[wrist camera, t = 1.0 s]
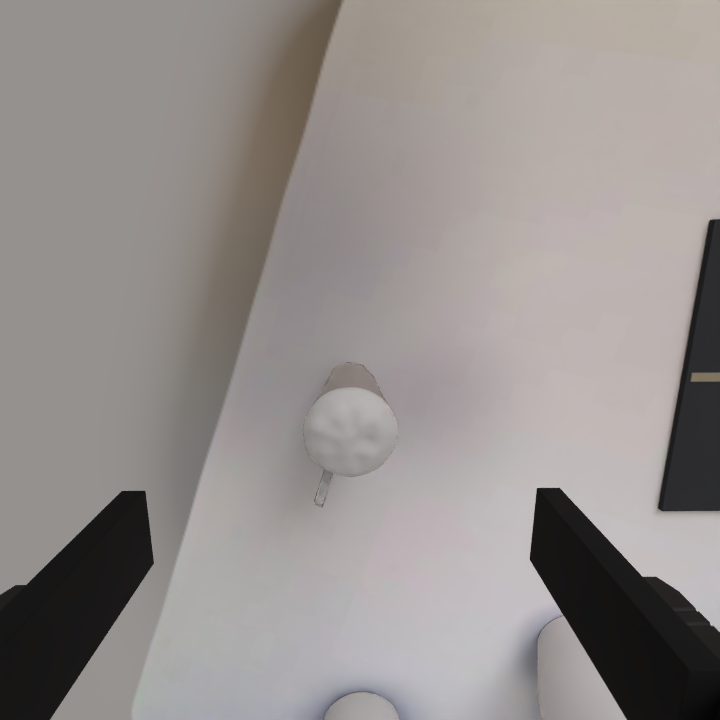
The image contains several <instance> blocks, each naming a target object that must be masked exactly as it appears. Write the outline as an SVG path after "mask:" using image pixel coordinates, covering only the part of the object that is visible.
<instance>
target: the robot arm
mask: <svg viewBox="0 0 720 720" xmlns="http://www.w3.org/2000/svg"><path fill="white" fill-rule="evenodd" d="M530 561H531V562H532V564H533V566H534V567H535V569H536V570H537V572H538V574H539V575H540V577H541V579H542V580H543V582H544V584H545V585H546V587H547V589H548V590H549V592H550V594H551V595H552V597H553V599H554V600H555V602H556V604H557V605H558V607H559V608H560V610H561V612H562V613H563V615H564V617H565V618H566V620H567V622H568V623H569V625H570V627H571V628H572V630H573V632H574V633H575V635H576V637H577V638H578V640H579V641H580V643H581V645H582V646H583V648H584V650H585V651H586V653H587V655H588V656H589V658H590V660H591V661H592V663H593V665H594V666H595V668H596V670H597V671H598V673H599V675H600V676H601V678H602V679H603V681H604V683H605V684H606V686H607V688H608V689H609V691H610V693H611V694H612V696H613V698H614V699H615V701H616V703H617V704H618V706H619V708H620V709H621V711H622V712H623V714H624V716H625V717H626V719H627V720H720V632H719V631H718V630H717V629H716V628H715V627H714V626H711V625H710V622H709V621H708V620H707V619H706V618H705V617H704V616H703V615H702V614H701V613H700V612H697V611H696V610H695V607H694V606H693V605H692V604H691V603H690V602H689V601H688V600H687V599H686V598H685V597H684V596H683V595H682V594H681V593H680V592H679V591H677V590H676V589H674V588H673V587H671V586H670V585H668V584H666V583H665V582H663V581H662V580H660V579H659V578H657V577H642V576H641V575H640V574H639V573H638V571H637V570H636V569H635V568H634V567H633V566H632V565H631V564H630V563H629V562H628V561H627V560H626V559H625V558H624V556H623V555H622V554H621V553H620V552H619V551H618V550H617V549H616V548H615V547H614V546H613V545H612V544H611V543H610V541H609V540H608V539H607V538H606V537H605V536H604V535H603V534H602V533H601V532H600V531H599V530H598V529H597V528H596V526H595V525H594V524H593V523H592V522H591V521H590V520H589V519H588V518H587V517H586V516H585V515H584V514H583V513H582V511H581V510H580V509H579V508H578V507H577V506H576V505H575V504H574V503H573V502H572V501H571V500H570V499H569V498H568V496H567V495H566V494H565V493H564V492H563V491H562V490H561V489H560V488H537V494H536V504H535V513H534V523H533V533H532V543H531V552H530ZM153 564H154V561H153V552H152V544H151V535H150V528H149V518H148V510H147V501H146V493H145V491H122V492H121V493H120V494H119V495H118V496H116V498H114V500H112V501H111V502H110V503H109V504H108V505H107V506H106V507H105V508H104V509H103V510H102V511H101V512H100V513H99V514H98V515H97V516H96V517H95V518H94V519H93V520H92V521H91V522H90V523H89V524H88V525H87V526H86V527H85V528H84V529H83V530H82V531H81V532H80V533H79V534H78V535H77V536H76V537H75V538H74V539H73V540H72V541H71V542H70V543H69V544H68V545H67V546H66V547H65V548H64V549H63V550H62V551H61V552H59V553H58V554H57V555H56V556H55V557H54V558H53V559H52V560H51V561H50V562H49V563H48V564H47V565H46V566H45V567H44V568H43V569H42V570H41V571H40V572H39V573H38V574H37V575H36V576H35V577H34V578H33V579H32V580H31V581H30V582H29V583H28V584H27V585H15V586H14V587H12V588H11V589H9V590H7V591H6V592H4V593H3V594H1V595H0V720H50V719H51V717H52V716H53V714H54V713H55V711H56V709H57V708H58V707H59V705H60V704H61V702H62V701H63V699H64V698H65V696H66V695H67V693H68V692H69V690H70V689H71V687H72V685H73V684H74V682H75V681H76V679H77V678H78V676H79V675H80V673H81V672H82V671H83V669H84V667H85V666H86V664H87V663H88V661H89V660H90V658H91V657H92V655H93V654H94V652H95V651H96V649H97V648H98V646H99V645H100V643H101V642H102V640H103V639H104V637H105V636H106V634H107V633H108V631H109V630H110V628H111V626H112V625H113V624H114V622H115V621H116V619H117V618H118V616H119V615H120V613H121V612H122V610H123V609H124V607H125V606H126V604H127V603H128V601H129V600H130V598H131V597H132V595H133V594H134V592H135V591H136V589H137V588H138V586H139V585H140V583H141V582H142V580H143V579H144V577H145V576H146V574H147V572H148V571H149V570H150V568H151V566H152V565H153Z"/></svg>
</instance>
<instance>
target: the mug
mask: <svg viewBox="0 0 720 720" xmlns="http://www.w3.org/2000/svg"><path fill="white" fill-rule="evenodd" d="M537 649H538V699H539V707H540V712H541V716H542V720H627V719H626V717H625V716H624V714H623V712H622V711H621V709H620V708H619V706H618V704H617V703H616V701H615V699H614V698H613V696H612V694H611V693H610V691H609V689H608V688H607V686H606V684H605V683H604V681H603V679H602V678H601V676H600V675H599V673H598V671H597V670H596V668H595V666H594V665H593V663H592V661H591V660H590V658H589V656H588V655H587V653H586V651H585V650H584V648H583V646H582V645H581V643H580V641H579V640H578V638H577V637H576V635H575V633H574V632H573V630H572V628H571V627H570V625H569V623H568V622H567V620H566V618H565V617H564V616H562V617H559V618H556V619H554V620H552V621H551V622H549V623H548V624H547V625H546V626H545V627H544V628H543V629H542V631H541V633H540V635H539V637H538V642H537Z"/></svg>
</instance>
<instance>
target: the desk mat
mask: <svg viewBox="0 0 720 720" xmlns="http://www.w3.org/2000/svg"><path fill="white" fill-rule="evenodd" d="M658 508H659V509H660V510H661V511H720V219H715V220H710V225H709V230H708V236H707V241H706V247H705V252H704V258H703V263H702V269H701V275H700V280H699V286H698V291H697V297H696V302H695V308H694V313H693V319H692V324H691V330H690V336H689V341H688V347H687V352H686V358H685V363H684V369H683V374H682V380H681V385H680V391H679V397H678V402H677V408H676V413H675V419H674V424H673V430H672V435H671V441H670V446H669V452H668V457H667V463H666V469H665V474H664V480H663V485H662V491H661V496H660V502H659V507H658Z"/></svg>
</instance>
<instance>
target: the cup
mask: <svg viewBox="0 0 720 720" xmlns="http://www.w3.org/2000/svg"><path fill="white" fill-rule="evenodd" d="M324 720H400V719H399V715H398V713H397V711H396V709H395V708H394V706H393V705H392V704H391V703H390V702H388V701H387V700H386V699H384V698H382V697H381V696H379V695H376V694H373V693H368V692H357V693H351V694H348V695H346V696H344V697H342V698H340V699H339V700H337V701H336V702H335V703H334V704H332V706H331V707H330V708H329V709H328V711H327V713H326V714H325V718H324Z"/></svg>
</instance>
